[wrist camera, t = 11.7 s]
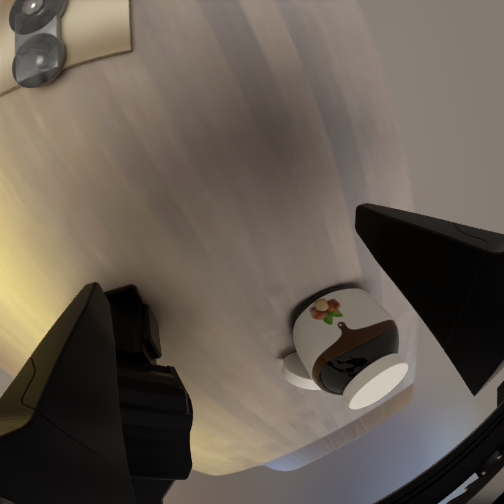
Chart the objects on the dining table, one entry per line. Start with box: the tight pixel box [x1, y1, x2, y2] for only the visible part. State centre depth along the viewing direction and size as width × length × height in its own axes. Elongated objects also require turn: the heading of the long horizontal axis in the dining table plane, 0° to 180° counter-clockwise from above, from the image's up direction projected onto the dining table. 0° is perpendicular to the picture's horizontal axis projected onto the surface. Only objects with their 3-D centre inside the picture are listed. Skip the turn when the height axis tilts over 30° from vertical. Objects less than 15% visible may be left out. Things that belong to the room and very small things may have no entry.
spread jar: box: [282, 287, 408, 409], centre depth 29 cm, size 12×11×12 cm
